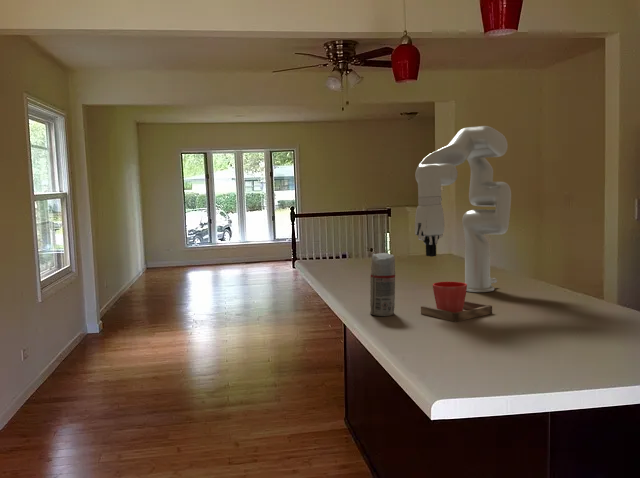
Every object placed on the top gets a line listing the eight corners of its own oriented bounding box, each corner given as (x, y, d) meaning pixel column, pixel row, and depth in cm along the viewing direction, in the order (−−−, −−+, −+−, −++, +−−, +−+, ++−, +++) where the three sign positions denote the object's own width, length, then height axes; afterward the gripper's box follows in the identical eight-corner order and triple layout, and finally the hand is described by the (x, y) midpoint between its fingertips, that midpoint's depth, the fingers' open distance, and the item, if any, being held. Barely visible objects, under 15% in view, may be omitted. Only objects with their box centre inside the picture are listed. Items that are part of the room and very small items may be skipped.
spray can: (398, 312, 191) (397, 252, 189) (393, 317, 184) (392, 255, 182) (373, 310, 194) (372, 251, 192) (367, 316, 186) (366, 254, 184)
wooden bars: (456, 306, 198) (456, 299, 198) (492, 313, 186) (492, 305, 186) (420, 313, 188) (420, 306, 187) (455, 321, 176) (455, 313, 176)
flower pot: (432, 309, 194) (431, 281, 193) (465, 309, 192) (465, 281, 191) (433, 316, 183) (433, 286, 182) (468, 317, 182) (468, 286, 181)
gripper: (436, 200, 200) (438, 252, 202) (405, 203, 191) (407, 257, 194) (453, 200, 194) (454, 254, 196) (422, 203, 185) (423, 259, 188)
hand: (431, 255), depth 195 cm, fingers closed
